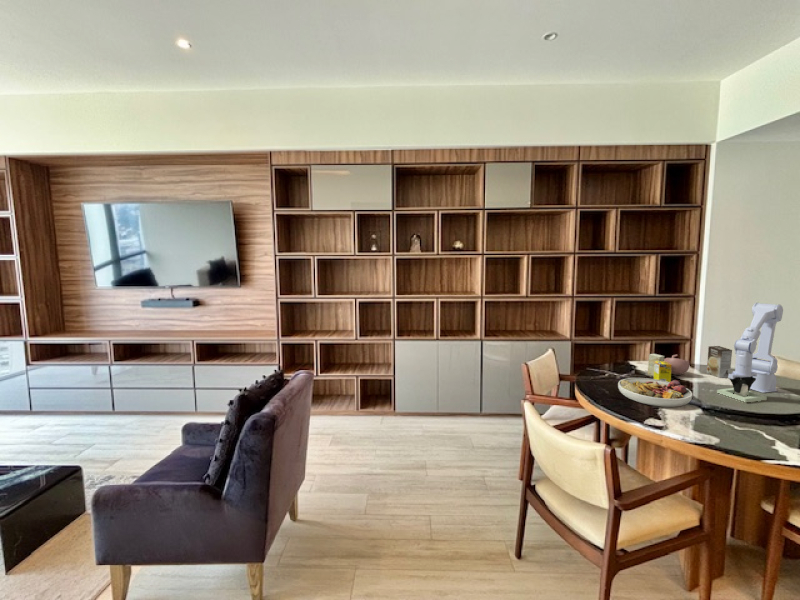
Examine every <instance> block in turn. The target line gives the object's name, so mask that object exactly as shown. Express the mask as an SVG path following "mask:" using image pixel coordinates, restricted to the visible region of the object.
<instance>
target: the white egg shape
mask: <svg viewBox="0 0 800 600" xmlns="http://www.w3.org/2000/svg"><path fill="white" fill-rule="evenodd" d="M734 394H736V395H739V396H742V397H748V396H747V395H748V385H746V384H742V387H741V392H740V393H737V392H735V393H734Z"/></svg>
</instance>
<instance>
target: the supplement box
mask: <svg viewBox="0 0 800 600" xmlns="http://www.w3.org/2000/svg"><path fill="white" fill-rule="evenodd" d="M671 366H672V365H671V364H669V363H668V362H661V361H655V362H654V376H653V379H656V380H662V381H667V382H671V381H672V373H671Z"/></svg>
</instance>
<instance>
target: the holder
mask: <svg viewBox="0 0 800 600" xmlns="http://www.w3.org/2000/svg"><path fill="white" fill-rule="evenodd" d="M717 393H720V394H723V395H726V396H729V397H732V398H735V399H738V400H741V401H744V402H750V401H758V402H762V401H761V400H766V401H767V398H768V396H767V395H763V394H761V393H756V392H754V391H752V390H751V391H750V390H749V392H748V396H739V395H736V394H735V392H734V388H733V387H729V388H721V389H716V394H717ZM733 393H734V394H733ZM720 394H719V395H720Z"/></svg>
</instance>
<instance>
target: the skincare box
mask: <svg viewBox="0 0 800 600" xmlns="http://www.w3.org/2000/svg"><path fill="white" fill-rule="evenodd" d="M664 359H665V355H661V354H657V353H649V354H648V363H647V366H648V367H647V375H649V376H652V377H654V362H655V361H661V362H664Z"/></svg>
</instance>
